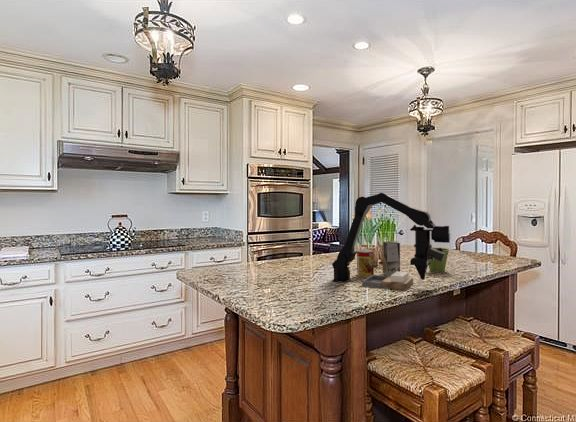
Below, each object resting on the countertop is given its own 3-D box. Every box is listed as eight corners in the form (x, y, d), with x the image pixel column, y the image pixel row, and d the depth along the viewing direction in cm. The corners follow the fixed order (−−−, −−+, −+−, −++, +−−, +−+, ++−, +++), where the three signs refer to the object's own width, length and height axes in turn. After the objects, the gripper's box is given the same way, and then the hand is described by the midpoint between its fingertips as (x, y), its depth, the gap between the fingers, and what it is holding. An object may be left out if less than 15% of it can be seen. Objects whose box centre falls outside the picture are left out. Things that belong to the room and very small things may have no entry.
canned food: (375, 276, 173) (375, 251, 173) (358, 277, 173) (358, 252, 173) (371, 273, 181) (371, 249, 181) (356, 273, 181) (355, 249, 181)
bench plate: (381, 287, 152) (381, 281, 152) (389, 281, 163) (389, 275, 163) (406, 289, 147) (406, 283, 147) (412, 283, 158) (412, 277, 158)
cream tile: (390, 281, 151) (390, 275, 151) (396, 277, 160) (396, 271, 160) (403, 282, 149) (403, 276, 149) (408, 278, 157) (408, 272, 157)
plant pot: (425, 272, 181) (425, 250, 181) (424, 268, 192) (423, 247, 192) (451, 273, 177) (451, 250, 177) (448, 269, 189) (448, 247, 188)
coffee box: (400, 276, 172) (400, 242, 172) (387, 277, 172) (386, 243, 172) (395, 273, 181) (395, 240, 181) (382, 273, 181) (382, 241, 181)
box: (362, 285, 155) (362, 281, 155) (372, 279, 168) (372, 274, 168) (381, 287, 151) (381, 282, 151) (390, 280, 164) (390, 276, 164)
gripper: (440, 245, 137) (440, 286, 138) (446, 240, 153) (447, 277, 154) (409, 243, 143) (410, 283, 143) (419, 239, 159) (419, 274, 159)
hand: (422, 279), depth 150 cm, fingers closed
